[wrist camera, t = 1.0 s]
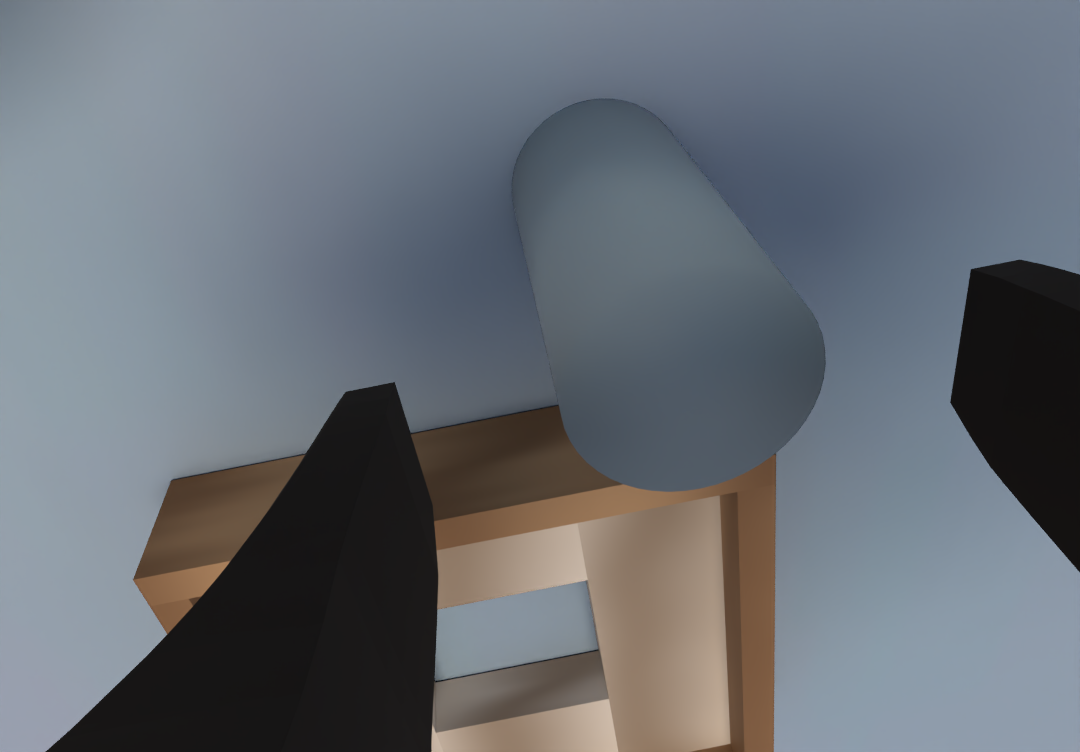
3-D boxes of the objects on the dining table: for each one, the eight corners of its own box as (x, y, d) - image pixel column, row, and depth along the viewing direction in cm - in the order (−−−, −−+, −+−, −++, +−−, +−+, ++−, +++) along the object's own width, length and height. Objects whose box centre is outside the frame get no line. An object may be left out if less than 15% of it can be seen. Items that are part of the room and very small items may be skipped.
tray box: (730, 372, 19) (776, 454, 17) (740, 707, 26) (773, 798, 24) (171, 480, 19) (133, 580, 17) (336, 786, 26) (327, 887, 24)
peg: (678, 83, 15) (830, 241, 10) (688, 248, 17) (820, 465, 11) (496, 117, 15) (540, 298, 10) (526, 280, 17) (578, 512, 11)
